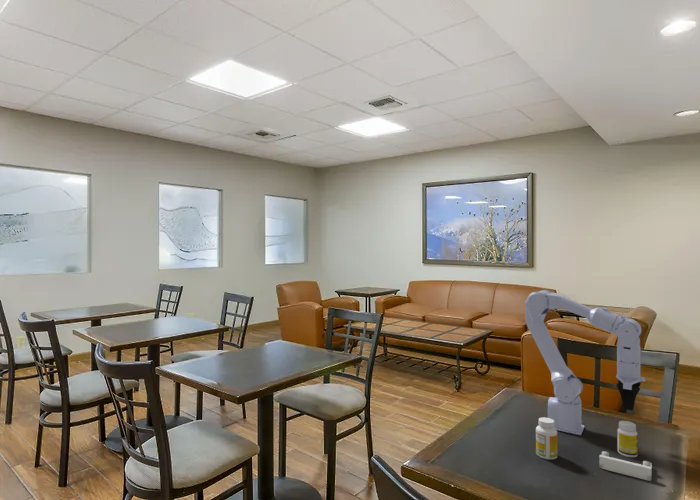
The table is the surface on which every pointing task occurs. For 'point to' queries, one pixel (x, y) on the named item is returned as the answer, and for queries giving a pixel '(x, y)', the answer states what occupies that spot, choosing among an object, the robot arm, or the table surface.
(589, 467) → the table surface
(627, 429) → the supplement bottle
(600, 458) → the drawer handle
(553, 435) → the supplement bottle
